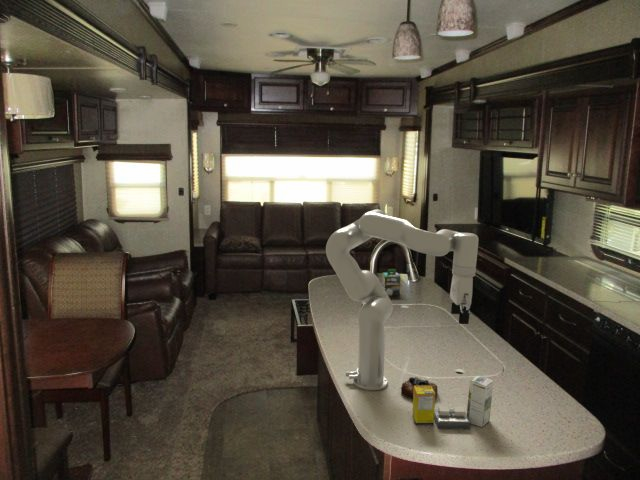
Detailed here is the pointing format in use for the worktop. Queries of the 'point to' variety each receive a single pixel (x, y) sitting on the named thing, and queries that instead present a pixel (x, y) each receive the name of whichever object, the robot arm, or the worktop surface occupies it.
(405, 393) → the pastry
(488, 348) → the worktop surface
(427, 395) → the supplement box
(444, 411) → the breaker paddles
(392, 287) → the chalk box
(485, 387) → the syrup box
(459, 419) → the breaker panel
